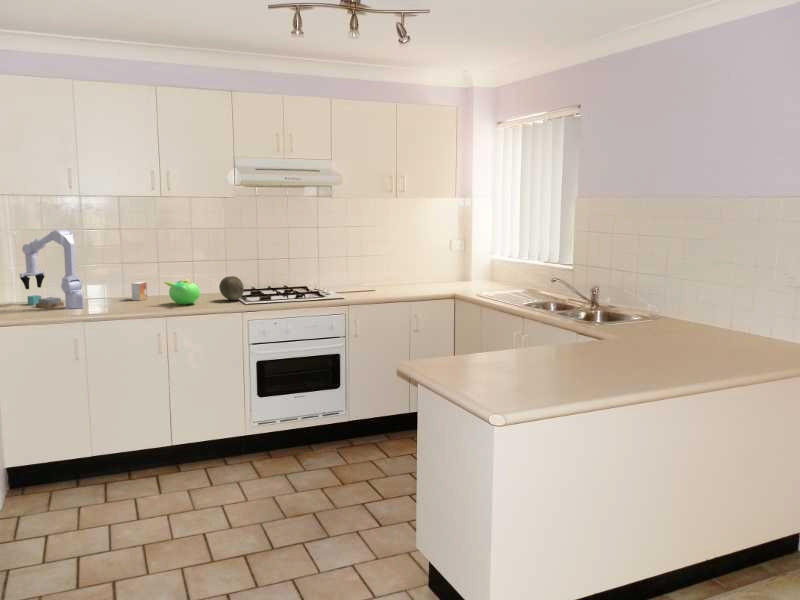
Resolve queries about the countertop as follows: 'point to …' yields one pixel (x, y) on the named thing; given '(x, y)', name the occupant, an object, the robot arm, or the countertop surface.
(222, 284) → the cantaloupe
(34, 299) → the teal block
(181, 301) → the toy bird
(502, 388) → the countertop surface
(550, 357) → the countertop surface
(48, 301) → the grey top slab
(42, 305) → the walnut base slab
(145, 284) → the small box
